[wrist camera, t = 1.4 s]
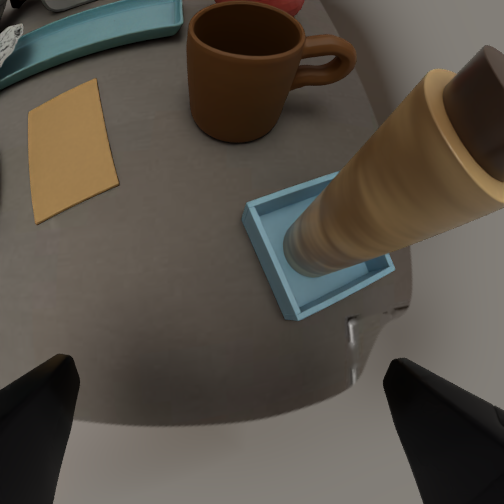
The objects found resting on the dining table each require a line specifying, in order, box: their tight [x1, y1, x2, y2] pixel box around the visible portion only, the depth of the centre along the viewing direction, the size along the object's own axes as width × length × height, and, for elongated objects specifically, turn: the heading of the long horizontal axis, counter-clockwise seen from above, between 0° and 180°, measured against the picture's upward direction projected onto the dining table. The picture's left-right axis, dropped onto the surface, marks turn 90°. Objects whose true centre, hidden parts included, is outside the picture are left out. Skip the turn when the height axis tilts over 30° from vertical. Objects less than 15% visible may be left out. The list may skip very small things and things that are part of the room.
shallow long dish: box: [0, 0, 183, 90], centre depth 22 cm, size 26×9×2 cm, turn 100°
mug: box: [187, 1, 357, 143], centre depth 19 cm, size 12×8×9 cm, turn 95°
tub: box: [241, 171, 395, 321], centre depth 20 cm, size 8×8×3 cm
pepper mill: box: [283, 45, 504, 278], centre depth 13 cm, size 4×4×18 cm
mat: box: [28, 78, 119, 225], centre depth 21 cm, size 13×8×1 cm, turn 23°
